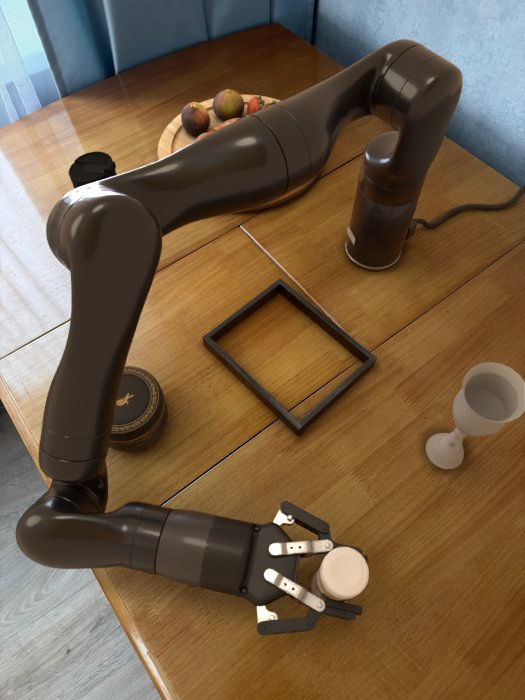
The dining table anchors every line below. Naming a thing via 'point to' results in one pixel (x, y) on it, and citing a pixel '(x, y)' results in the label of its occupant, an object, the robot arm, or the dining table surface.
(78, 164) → the travel mug
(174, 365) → the dining table surface
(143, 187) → the robot arm
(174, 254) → the dining table surface
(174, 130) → the wooden plate
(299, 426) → the picture frame
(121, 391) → the jar
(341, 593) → the sprinkles bottle
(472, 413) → the chalice
